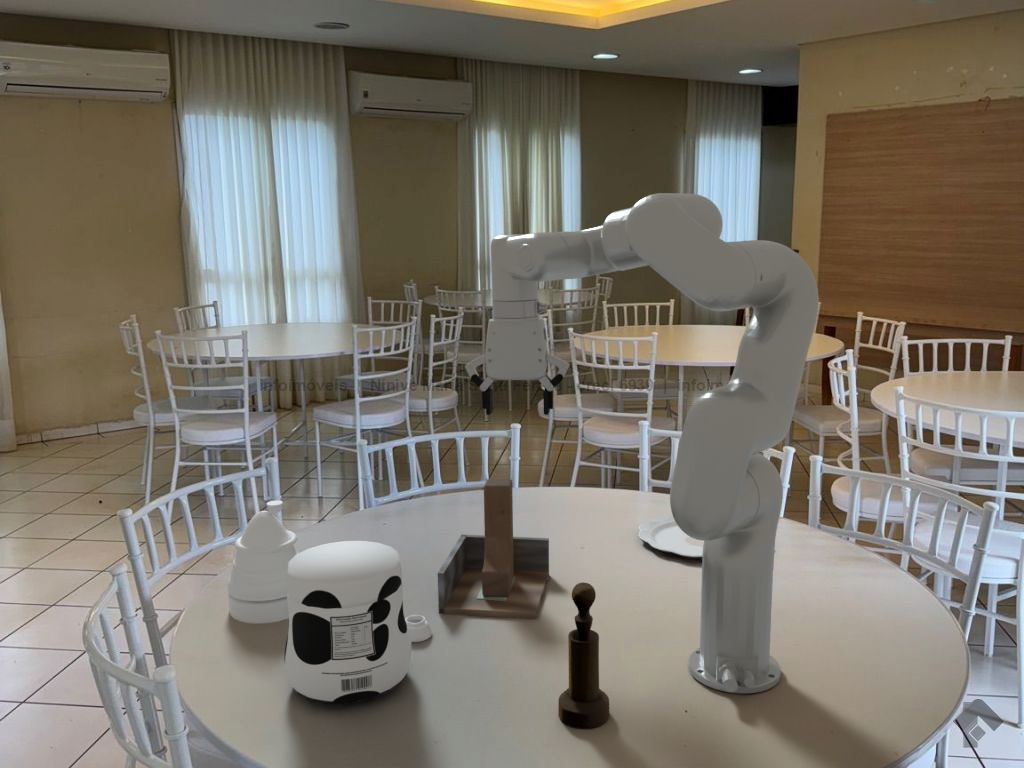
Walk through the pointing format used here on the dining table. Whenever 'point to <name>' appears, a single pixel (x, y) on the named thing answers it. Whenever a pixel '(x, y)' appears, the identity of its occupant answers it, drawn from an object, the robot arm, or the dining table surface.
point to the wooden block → (498, 538)
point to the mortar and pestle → (583, 669)
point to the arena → (465, 579)
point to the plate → (668, 537)
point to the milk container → (346, 622)
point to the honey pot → (261, 569)
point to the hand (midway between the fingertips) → (518, 413)
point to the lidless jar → (418, 628)
